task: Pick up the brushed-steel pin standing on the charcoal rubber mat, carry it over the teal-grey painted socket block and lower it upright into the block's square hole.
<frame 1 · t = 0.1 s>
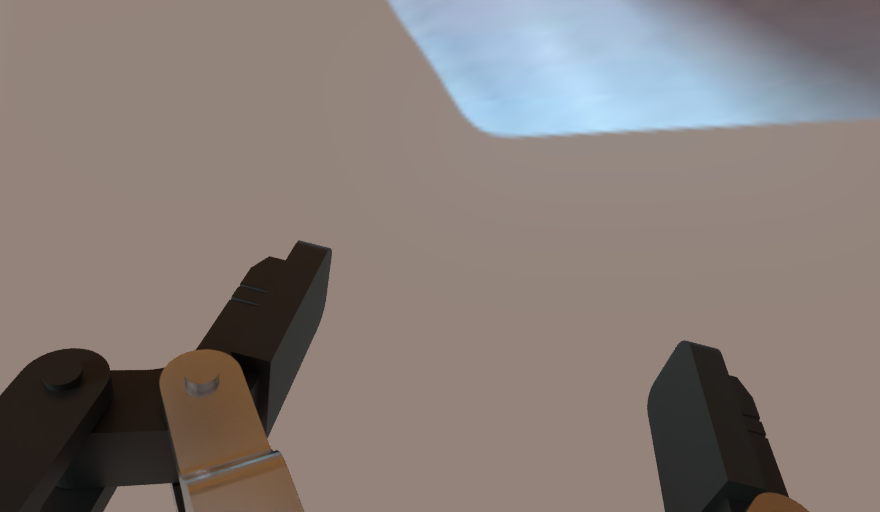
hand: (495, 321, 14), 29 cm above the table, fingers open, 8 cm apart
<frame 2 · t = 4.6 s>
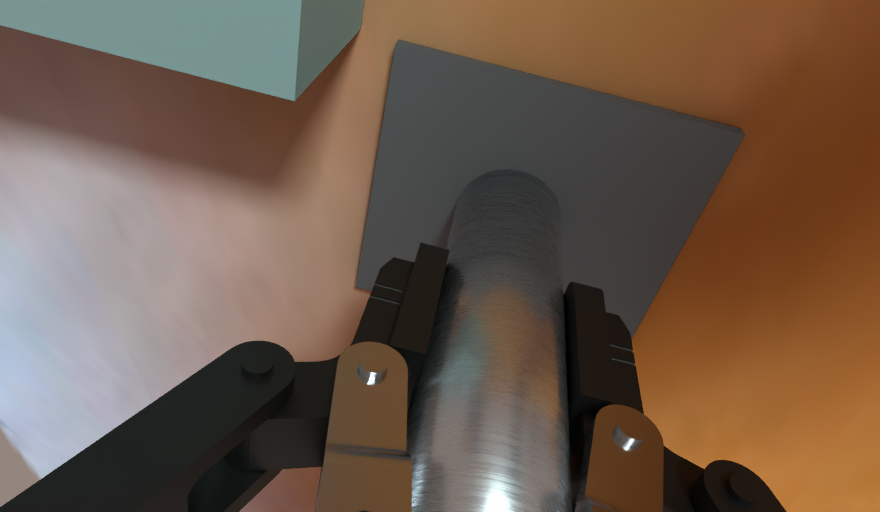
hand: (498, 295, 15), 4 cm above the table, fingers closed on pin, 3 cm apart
mat: (524, 213, 18), on the table
pin: (507, 216, 17), resting on mat, touching gripper
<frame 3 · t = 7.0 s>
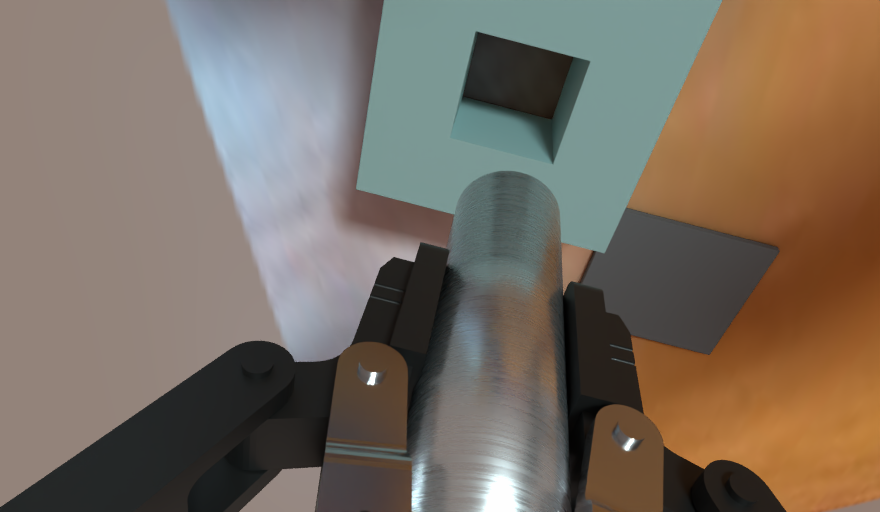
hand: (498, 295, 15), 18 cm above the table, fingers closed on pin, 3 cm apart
mat: (664, 282, 35), on the table
pin: (507, 217, 17), point 14 cm above the table, touching gripper
socket block: (520, 63, 29), on the table
when the fingers open (6 cm above the table, at t = 9.3 s): pin drops 2 cm, resting in socket block.
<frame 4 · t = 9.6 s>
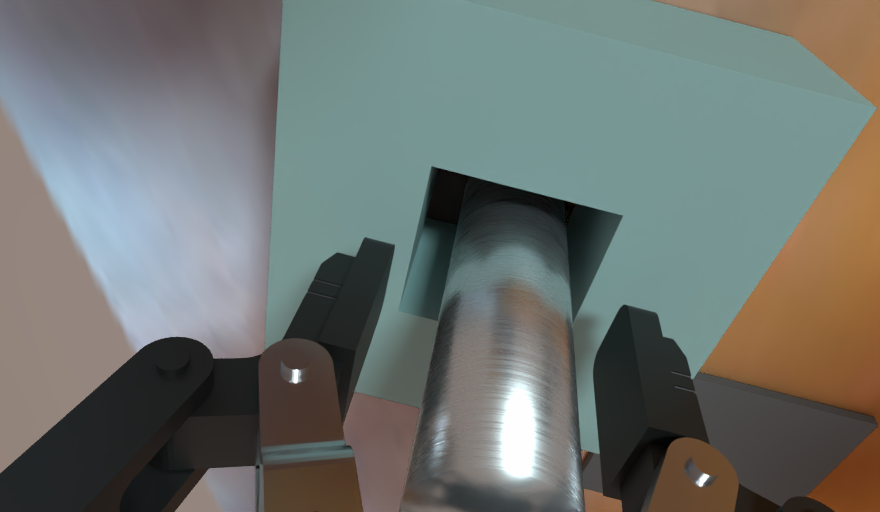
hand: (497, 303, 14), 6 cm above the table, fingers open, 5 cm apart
mat: (710, 450, 25), on the table
pin: (515, 177, 19), resting in socket block
socket block: (510, 176, 19), on the table
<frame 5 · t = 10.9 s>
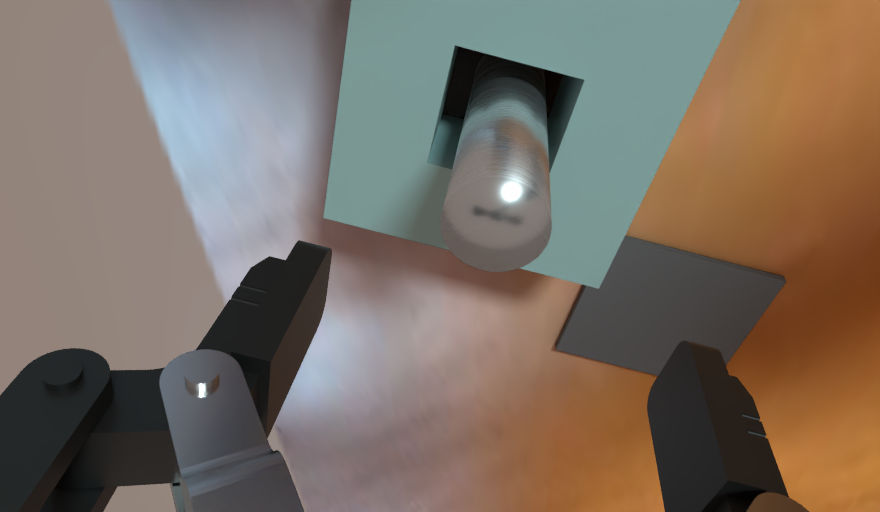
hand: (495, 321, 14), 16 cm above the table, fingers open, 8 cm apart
mat: (661, 313, 32), on the table
pin: (509, 79, 26), resting in socket block
socket block: (506, 78, 26), on the table
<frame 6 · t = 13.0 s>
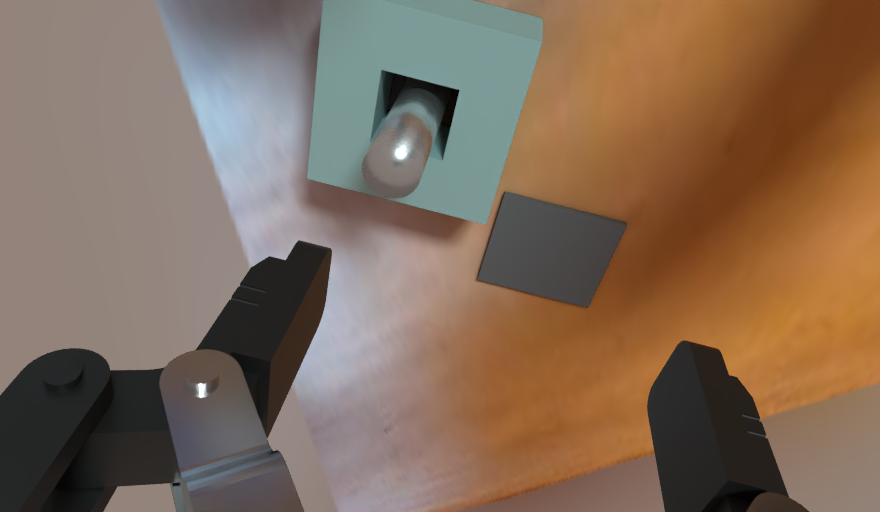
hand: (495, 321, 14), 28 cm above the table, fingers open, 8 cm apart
mat: (548, 251, 46), on the table
pin: (428, 88, 40), resting in socket block
socket block: (426, 87, 40), on the table
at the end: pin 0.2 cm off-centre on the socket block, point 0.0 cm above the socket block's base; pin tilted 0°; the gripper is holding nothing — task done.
